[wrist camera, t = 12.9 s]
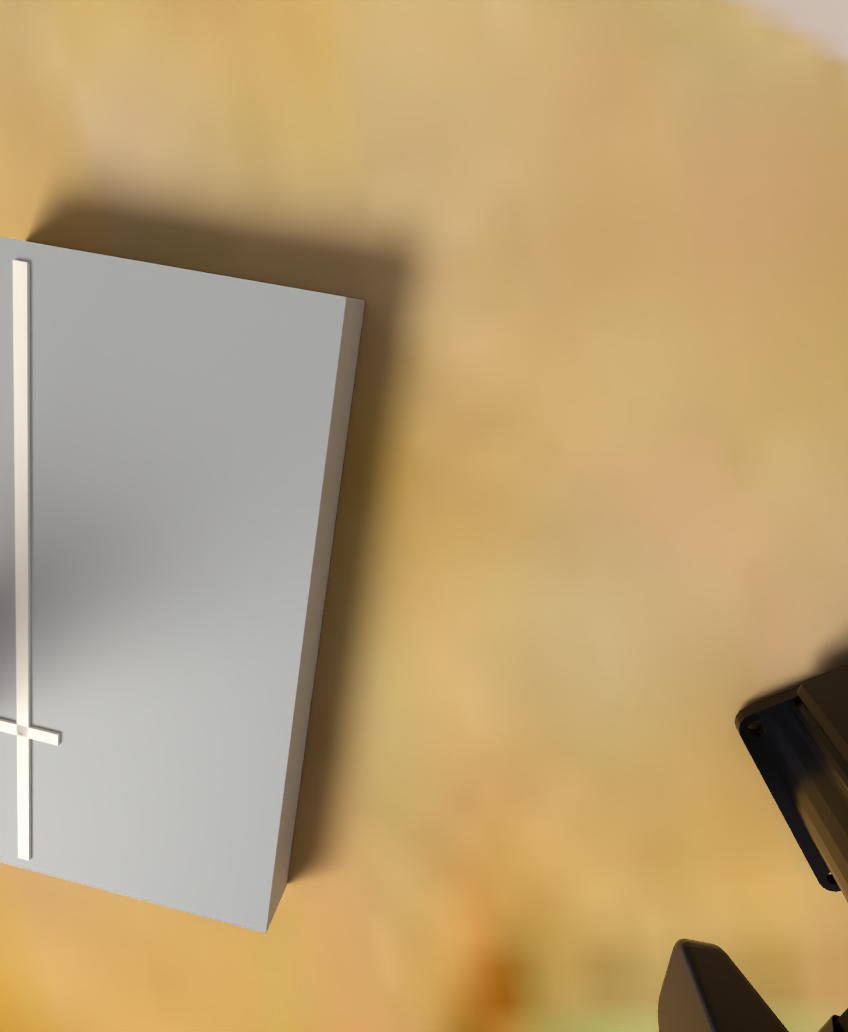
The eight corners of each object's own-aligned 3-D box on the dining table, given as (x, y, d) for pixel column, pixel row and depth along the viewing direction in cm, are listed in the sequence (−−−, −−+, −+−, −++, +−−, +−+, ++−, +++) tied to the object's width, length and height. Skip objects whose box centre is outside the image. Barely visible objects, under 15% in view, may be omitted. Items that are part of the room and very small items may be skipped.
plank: (23, 241, 19) (-35, 230, 17) (365, 299, 18) (345, 296, 16) (26, 817, 25) (-18, 860, 23) (286, 885, 24) (264, 936, 22)
